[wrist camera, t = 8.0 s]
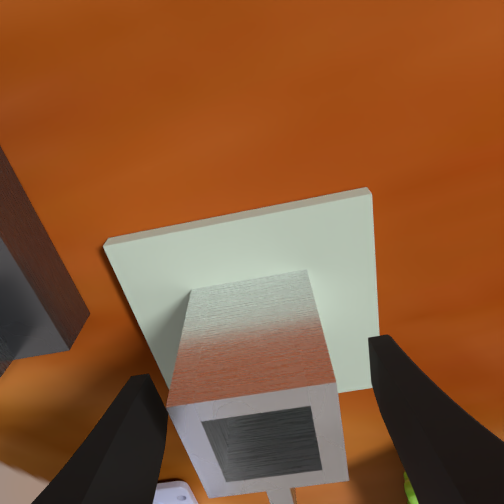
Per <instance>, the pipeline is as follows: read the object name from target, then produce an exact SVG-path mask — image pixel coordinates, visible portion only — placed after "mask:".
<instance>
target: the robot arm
mask: <svg viewBox="0 0 504 504" xmlns="http://www.w3.org/2000/svg"><path fill="white" fill-rule="evenodd" d="M368 347H369V360H370V374H371V384H372V387H373V390H374V393H375V397H376V400H377V403H378V406H379V409H380V413H381V415H382V418H383V420H384V422H385V425H386V427H387V430H388V432H389V434H390V437H391V439H392V441H393V444H394V446H395V448H396V450H397V453H398V455H399V457H400V460H401V462H402V464H403V467H404V469H405V471H406V474H407V476H408V478H409V481H410V483H411V485H412V488H413V490H414V493H415V495H416V498H417V501H418V503H419V504H504V442H503V441H502V440H501V439H499V438H498V437H497V436H495V435H494V434H493V433H492V432H490V431H489V430H488V429H486V428H485V427H484V426H483V425H481V424H480V423H479V422H478V421H476V420H475V419H474V418H473V417H472V416H470V415H469V414H468V413H467V412H466V411H465V410H463V409H462V408H461V407H460V406H459V405H458V404H457V403H455V402H454V401H453V400H452V399H451V398H450V397H449V396H448V395H446V394H445V393H444V392H443V391H442V390H441V389H440V388H439V387H438V386H437V385H436V384H435V383H434V382H433V381H432V380H431V379H430V378H429V377H428V376H427V375H426V374H425V373H424V372H423V371H422V370H421V369H420V368H419V367H418V366H417V365H416V364H415V363H414V362H413V361H412V360H411V359H410V358H409V357H408V356H407V355H406V353H405V352H404V351H403V350H402V349H401V348H400V347H399V346H398V344H397V343H396V342H395V341H394V340H393V338H392V337H391V336H389V335H381V336H375V337H369V338H368ZM167 421H168V412H167V410H166V408H165V406H164V404H163V402H162V400H161V398H160V396H159V394H158V392H157V390H156V388H155V386H154V384H153V381H152V379H151V377H150V375H149V374H143V375H137V376H131V377H130V379H129V380H128V381H127V383H126V384H125V386H124V387H123V388H122V390H121V391H120V393H119V394H118V395H117V397H116V398H115V400H114V401H113V402H112V404H111V405H110V407H109V408H108V410H107V411H106V412H105V414H104V415H103V416H102V418H101V419H100V421H99V422H98V423H97V425H96V426H95V427H94V429H93V430H92V431H91V433H90V434H89V436H88V437H87V438H86V440H85V441H84V442H83V443H82V445H81V446H80V447H79V448H78V450H77V451H76V452H75V453H74V455H73V456H72V457H71V458H70V460H69V461H68V462H67V464H66V465H65V466H64V467H63V468H62V470H61V471H60V472H59V473H58V474H57V475H56V477H55V478H54V479H53V480H52V481H51V482H50V484H49V485H48V486H47V487H46V488H45V489H44V490H43V491H42V492H41V493H40V495H39V496H38V497H37V498H36V499H35V500H34V501H33V502H32V503H31V504H198V502H197V500H196V498H195V497H194V495H193V493H192V491H191V489H190V487H189V485H188V484H187V483H186V482H184V481H172V482H165V483H157V482H158V477H159V473H160V468H161V463H162V459H163V454H164V449H165V442H166V433H167Z"/></svg>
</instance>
